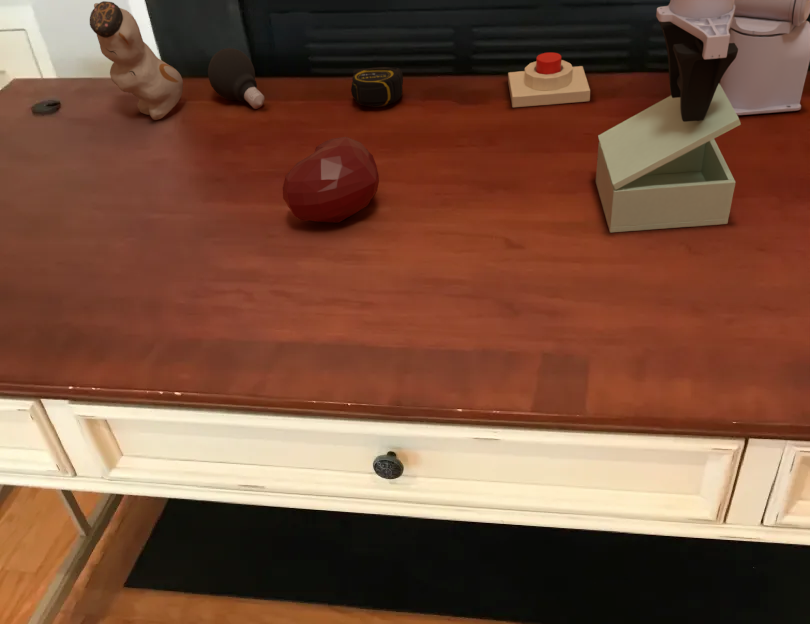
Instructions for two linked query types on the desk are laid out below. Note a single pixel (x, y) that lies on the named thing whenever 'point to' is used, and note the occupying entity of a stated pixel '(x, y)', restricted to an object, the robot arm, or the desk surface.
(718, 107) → the freezer lid
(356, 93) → the tape measure
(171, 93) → the figurine
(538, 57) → the power button
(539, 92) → the control block
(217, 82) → the dark brown bulb-shaped piece
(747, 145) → the desk surface
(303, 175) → the heart
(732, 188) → the box
